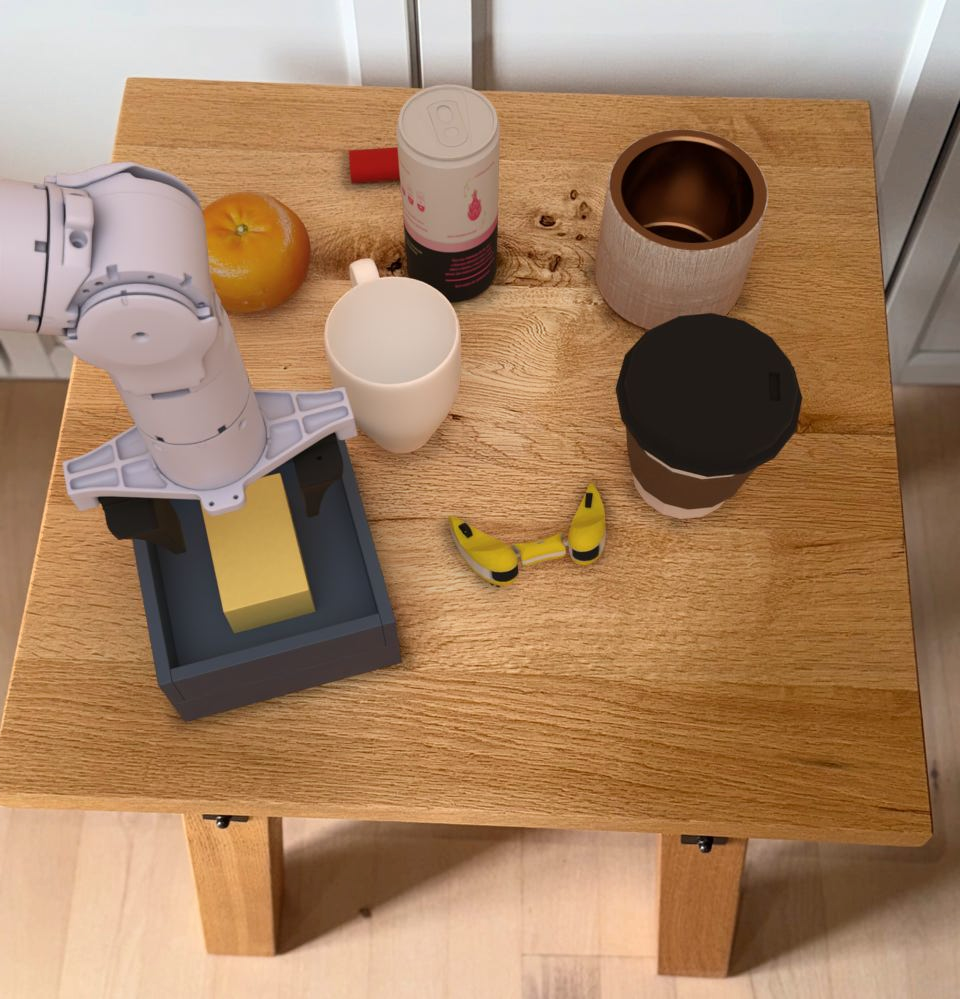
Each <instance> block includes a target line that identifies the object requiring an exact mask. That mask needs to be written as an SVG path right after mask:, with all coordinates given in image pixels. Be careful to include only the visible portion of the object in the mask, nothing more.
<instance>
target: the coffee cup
mask: <svg viewBox="0 0 960 999" xmlns="http://www.w3.org/2000/svg"><path fill="white" fill-rule="evenodd" d="M615 396H616V399H617V404H618V409H619V410H618V411H619V416H620V420H621V422H622V423H623V425H624V426H625V435H626V451H627V455H628V460H629V466H630V470H631V473H632V479H633V483H634V488H635V489H636V491H637V492H638V493H639V495H640V496H641V498H642V499H643V501H644V502H645V504H647V505H648V506H649V507H651V508H652V509H654V510H656V511H657V512H658V513H660V514H661V515H663V516H667V517H670V518H674V519H678V520H685V519H694V518H695V519H696V518H702V517H705V516H707V515H709V514H710V513H712V512H715V511H716V510H718V509H720V508H721V506H722V505H723V504H724V503H725V502H726V501H727V500H730V499H731V498H733V497H734V495H735V494H736V493H737V492H738V491H739V490H740V488H741V487H742V486H743V485H744V483H745V482H746V481H747V480H748V479H749V478H750V476H751V475H752V474H754V471H756V469H757V468H758V467H760V466H762V465H764V464H767V463H768V462H770V461H772V460H774V459H775V458H777V456H778V454H779V453H780V452H781V451H782V450H783V449H784V447H785V446H786V444H787V443H788V442H789V441H790V440H791V438H792V437H794V436H793V435H795V432H796V430H797V428H798V423H799V418H800V413H801V408H802V403H803V395H802V391H801V388H800V384H799V380H798V376H797V373H796V370H795V367H794V365H793V364H792V361H791V360H790V358H789V357H788V356H787V355H786V353H785V352H784V351H783V350H782V349H781V347H780V346H779V344H778V343H777V342H776V341H775V340H774V338H773V337H772V336H771V335H768V333H765V332H764V331H762V330H760V329H759V328H757V327H756V326H754V325H752V324H751V323H749V322H747V321H746V320H743V319H741V318H740V319H739V318H735V317H731V316H727V315H725V316H723V315H718V314H714V313H705V314H694V315H683V316H678V317H676V318H674V319H672V320H669V321H667V322H665V323H663V324H661V325H659V326H657V327H655V328H652V329H651V330H647V331H645V332H644V333H643V334H642V336H640V337H639V339H638V340H637V341H636V342H635V343H634V344H633V345H632V347H631V348H629V350H628V351H627V352H626V353H625V354H624V357H623V360H622V364H621V368H620V371H619V375H618V378H617V381H616V385H615Z"/></svg>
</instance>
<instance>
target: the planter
mask: <svg viewBox="0 0 960 999" xmlns="http://www.w3.org/2000/svg"><path fill="white" fill-rule="evenodd" d="M768 204H769V188H768V183H767V179H766V177H765V175H764V173H763V170H762V169H761V167H760V165H758V162H756V160H755V159H754V157H753V156H751V155H750V153H748V152H747V151H746V150H745V149H743V148H742V147H741V146H739V145H737V144H736V143H734V142H733V141H731V140H729V139H727V138H726V137H723V136H721V135H719V134H715V133H711V132H708V131H703V130H699V129H693V128H692V129H689V128H673V129H664V130H659V131H655V132H652V133H649V134H646V135H644V136H642V137H640V138H638V139H636V140H634V141H632V143H630V144H628V145H627V146H626V147H624V149H623V150H622V151H621V152H620V153H619V155H618V156H617V157H616V158H615V160H614V162H613V163H612V165H611V168H610V170H609V174H608V177H607V183H606V190H605V196H604V204H603V209H602V214H601V222H600V227H599V233H598V239H597V244H596V250H595V258H594V275H595V276H594V277H595V282H596V285H597V288H598V291H599V292H600V294H601V297H602V298H603V300H604V301H605V303H606V304H607V306H609V307H610V308H611V310H612V311H614V312H615V313H616V314H617V315H618V316H620V317H621V318H622V319H624V320H626V321H627V322H629V323H631V324H633V325H635V326H636V327H639V328H642V329H644V330H647V331H649V330H651V329H652V328H655V327H657V326H659V325H661V324H663V323H665V322H667V321H669V320H672V319H674V318H676V317H678V316H683V315H694V314H705V313H714V314H718V315H723V316H727V315H728V313H730V311H731V310H732V309H733V307H734V306H735V305H736V303H737V302H738V299H739V298H740V296H741V294H742V292H743V288H744V285H745V283H746V279H747V276H748V272H749V269H750V265H751V263H752V262H751V261H752V259H753V255H754V251H755V249H756V245H757V242H758V238H759V235H760V232H761V229H762V226H763V222H764V219H765V216H766V213H767V210H768Z"/></svg>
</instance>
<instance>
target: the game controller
mask: <svg viewBox="0 0 960 999" xmlns="http://www.w3.org/2000/svg"><path fill="white" fill-rule="evenodd" d="M575 512H576V513H575V514H574V516H573V519H572V520H571V523H570V525H569V529H568V533H567V539H566V541H564V538H565V537H564V532H563V531H559V532H558V533H556V534H553V535H550V536H548V537H545V538H541V539H537V540H534V541H527V542H518V543H517V542H516V543H513V544H511V545H509V544H507V543H506V542H504V541H501V540H499V539H496V538H494V537H493V536H491V535H489V534H486V533H484V532H483V531H481V530H480V529H477V528H476V527H474V526H472V525H470V524H469V523H467V522H465V521H463V520H461V519H460V518H458V517H457V516H454V515H450V516H448V524H449V532H450V534H451V537H452V540H453V542H454V544H455V546H456V548H457V551H458V552H459V554H460V556H461V557H462V558H463V560H464V561H465V563H466V564H467V565H468V567H469V568H470V569H471V570H472V571H473V572H474V573H475V574H476V575H477V576H478V577H480V578H481V579H482V580H484V581H486V582H487V583H489V584H490V586H495V587H496V588H498V589H499V588H500V587H505V586H509V585H512V584H514V583H515V581H516V580H517V579H518V577H519V575H520V574H519V572H520V571H519V561H520V565H522V567H530V566H533V565H537V564H540V563H544V562H545V563H546V562H549V561H553V560H558V559H561V558H564V557H565V556H566V555H567V549H568V554H569V557H570V559H571V560H572V561H573V563H575V564H577V565H579V566H589V565H591V564H593V563H595V562H596V561H597V560H598V559H599V558H600V557H601V555H602V554H603V551H604V550H605V546H606V541H607V525H606V513H605V512H606V511H605V507H604V504H603V500H602V498H601V495H600V492H599V490H598V489H597V487H596V485H595V482H594V481H589V482H588V484H587V489H586V491H585V493H584V495H583V498H582V500H581V502H580V504H579V506H578V508H577V510H576V511H575ZM566 547H567V548H566ZM518 559H519V560H518Z"/></svg>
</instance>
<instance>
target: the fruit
mask: <svg viewBox="0 0 960 999" xmlns="http://www.w3.org/2000/svg"><path fill="white" fill-rule="evenodd" d="M202 214H203V217H204V220H205V227H206V237H207V248H208V259H209V270H210V276H211V278H212V281H213V284H214V287H215V290H216V293H217V294H218V296H219V298H220V300H221V303H222V306H223V308H224V309H225V310H228V311H232V312H234V313H243V314H245V313H248V314H249V313H253V312H254V313H255V312H260V311H261V312H262V311H267V310H270V309H274V308H275V307H278V306H280V305H282V303H284V302H285V301H287V300H289V299H290V298H291V297H293V296H294V295H295V294H296V293H297V292H298V291H299V290H300V289H301V287H302V286H303V284H304V282H305V280H306V277H307V273H308V270H309V266H310V261H311V255H312V254H311V252H312V249H311V247H312V246H311V239H310V236H309V234H308V230H307V228H306V226H305V224H304V223H303V221H302V219H301V218H300V217H299V216H298V215H297V214H296V212H294V211H293V210H292V209H291V208H290V207H288V206H287V205H286V204H285V203H283V202H282V201H281V200H279V199H278V198H276V197H274V196H271V195H269V194H268V193H263V192H258V191H251V190H243V191H236V192H232V193H229V194H226V195H224V196H221V197H219V198H218V199H216V200H214V201H212V202H211V203H210V204H208V205H207V206H206V207H204V208H202Z"/></svg>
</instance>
